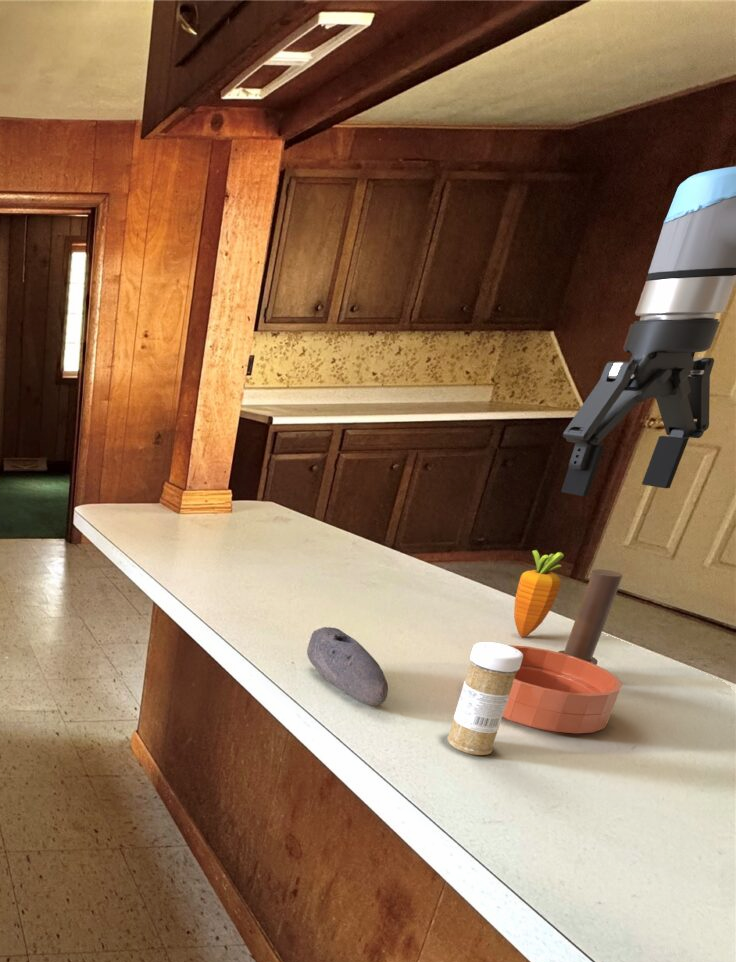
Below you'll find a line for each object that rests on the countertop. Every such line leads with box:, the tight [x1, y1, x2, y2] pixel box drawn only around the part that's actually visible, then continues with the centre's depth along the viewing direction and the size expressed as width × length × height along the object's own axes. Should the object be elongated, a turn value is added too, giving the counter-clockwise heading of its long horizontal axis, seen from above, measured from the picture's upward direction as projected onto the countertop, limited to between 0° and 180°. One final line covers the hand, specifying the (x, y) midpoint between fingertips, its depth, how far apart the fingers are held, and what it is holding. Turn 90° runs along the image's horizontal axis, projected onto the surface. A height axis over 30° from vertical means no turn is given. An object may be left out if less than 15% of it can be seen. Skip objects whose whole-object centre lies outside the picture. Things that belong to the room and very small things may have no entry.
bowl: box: [502, 644, 623, 734], centre depth 88 cm, size 14×14×6 cm
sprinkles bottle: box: [446, 641, 523, 756], centre depth 79 cm, size 5×5×14 cm
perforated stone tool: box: [306, 626, 389, 707], centre depth 94 cm, size 15×5×7 cm, turn 1°
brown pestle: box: [557, 568, 624, 666], centre depth 94 cm, size 4×4×16 cm
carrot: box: [513, 549, 565, 638], centre depth 106 cm, size 5×5×15 cm
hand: (615, 490), depth 88 cm, fingers open, 13 cm apart
